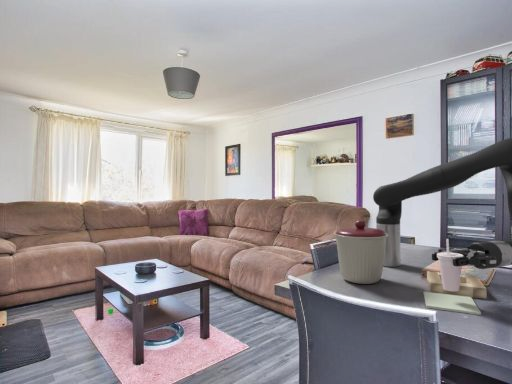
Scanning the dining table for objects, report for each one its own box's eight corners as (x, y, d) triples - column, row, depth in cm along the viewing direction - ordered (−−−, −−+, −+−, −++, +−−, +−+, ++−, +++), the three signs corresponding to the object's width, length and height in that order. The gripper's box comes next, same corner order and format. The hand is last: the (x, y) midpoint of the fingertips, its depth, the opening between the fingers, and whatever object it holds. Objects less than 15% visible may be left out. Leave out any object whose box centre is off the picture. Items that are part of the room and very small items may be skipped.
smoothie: (432, 286, 87) (430, 237, 87) (453, 284, 88) (451, 236, 88) (448, 293, 81) (446, 241, 81) (470, 292, 81) (469, 240, 81)
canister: (380, 292, 94) (379, 224, 94) (326, 282, 105) (325, 221, 105) (394, 277, 109) (393, 219, 109) (345, 270, 120) (344, 216, 119)
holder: (430, 292, 93) (430, 282, 93) (427, 279, 106) (427, 271, 106) (486, 298, 87) (486, 288, 87) (475, 284, 100) (475, 275, 100)
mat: (426, 307, 82) (426, 305, 82) (423, 293, 93) (423, 291, 93) (480, 315, 77) (480, 312, 77) (471, 299, 87) (471, 297, 87)
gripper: (466, 237, 95) (422, 241, 91) (516, 245, 81) (466, 250, 77) (467, 261, 95) (422, 266, 91) (517, 273, 81) (467, 280, 77)
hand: (443, 259), depth 84 cm, fingers closed on smoothie, 6 cm apart
